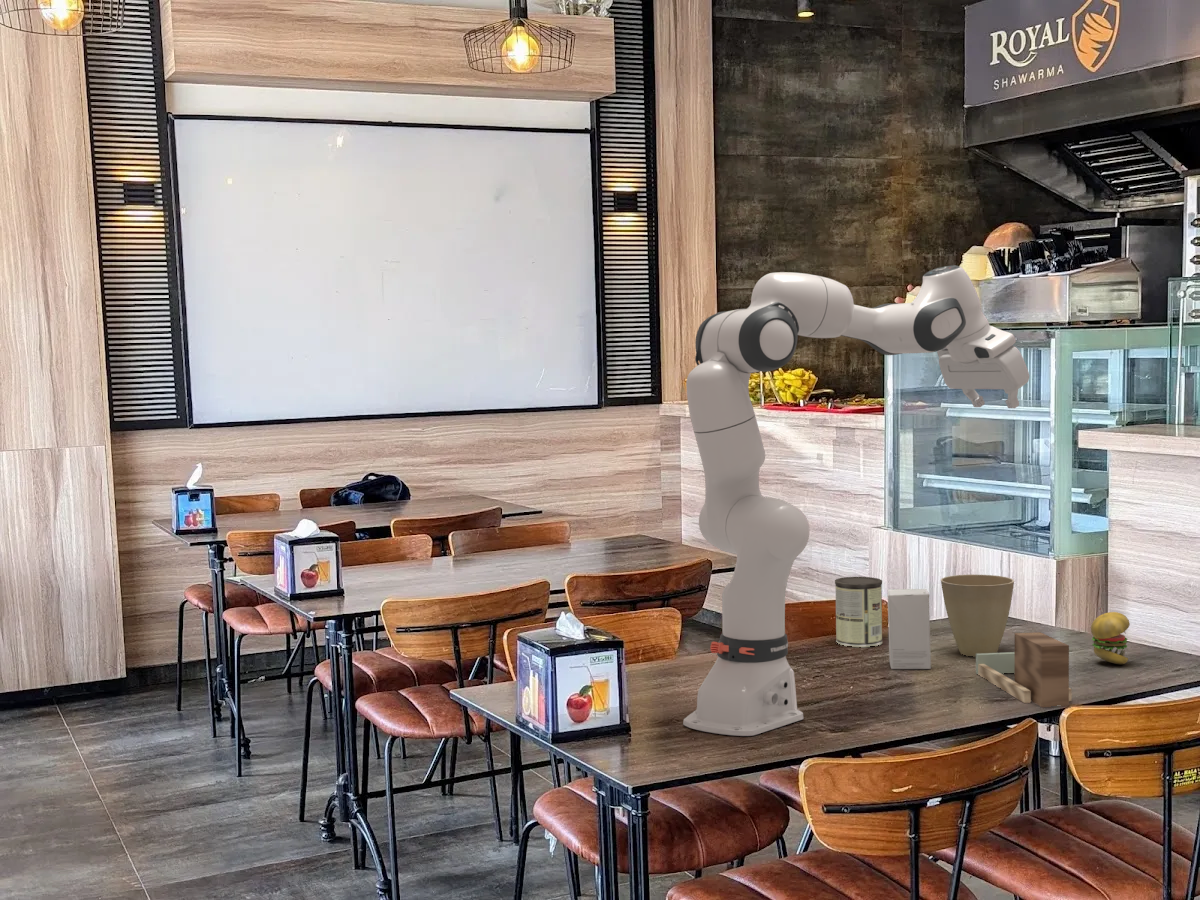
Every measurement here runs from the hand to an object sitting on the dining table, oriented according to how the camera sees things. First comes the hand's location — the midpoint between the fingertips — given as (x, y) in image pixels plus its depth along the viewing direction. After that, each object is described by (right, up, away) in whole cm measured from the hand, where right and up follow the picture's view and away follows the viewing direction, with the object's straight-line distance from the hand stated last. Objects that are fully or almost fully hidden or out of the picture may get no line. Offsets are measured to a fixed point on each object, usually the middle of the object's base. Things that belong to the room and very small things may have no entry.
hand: (996, 406), depth 252 cm
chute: (+3, -54, -6) cm, 54 cm away
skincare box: (-14, -53, +13) cm, 56 cm away
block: (+4, -54, -14) cm, 56 cm away
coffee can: (-20, -52, +36) cm, 66 cm away
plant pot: (+3, -52, +23) cm, 57 cm away
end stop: (+2, -53, +5) cm, 53 cm away
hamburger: (+27, -52, +11) cm, 60 cm away
